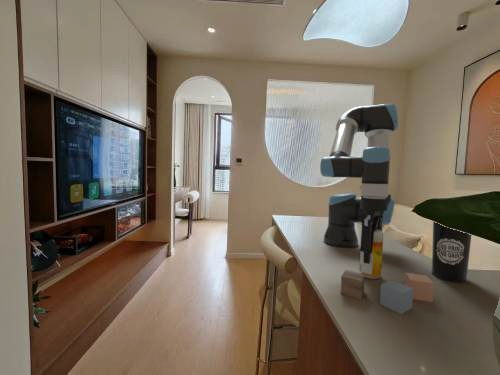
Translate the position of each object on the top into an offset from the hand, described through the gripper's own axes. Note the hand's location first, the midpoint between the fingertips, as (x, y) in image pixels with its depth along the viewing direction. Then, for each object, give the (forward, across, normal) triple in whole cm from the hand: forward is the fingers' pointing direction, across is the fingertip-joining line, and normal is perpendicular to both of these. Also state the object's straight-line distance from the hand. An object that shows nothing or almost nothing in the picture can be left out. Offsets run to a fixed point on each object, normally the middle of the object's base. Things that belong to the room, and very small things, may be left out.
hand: (370, 269), depth 75 cm
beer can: (+2, 0, 0) cm, 2 cm away
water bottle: (+2, -18, +18) cm, 25 cm away
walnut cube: (+2, +15, 0) cm, 15 cm away
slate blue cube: (+2, +14, +10) cm, 17 cm away
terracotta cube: (+2, +4, +13) cm, 14 cm away
